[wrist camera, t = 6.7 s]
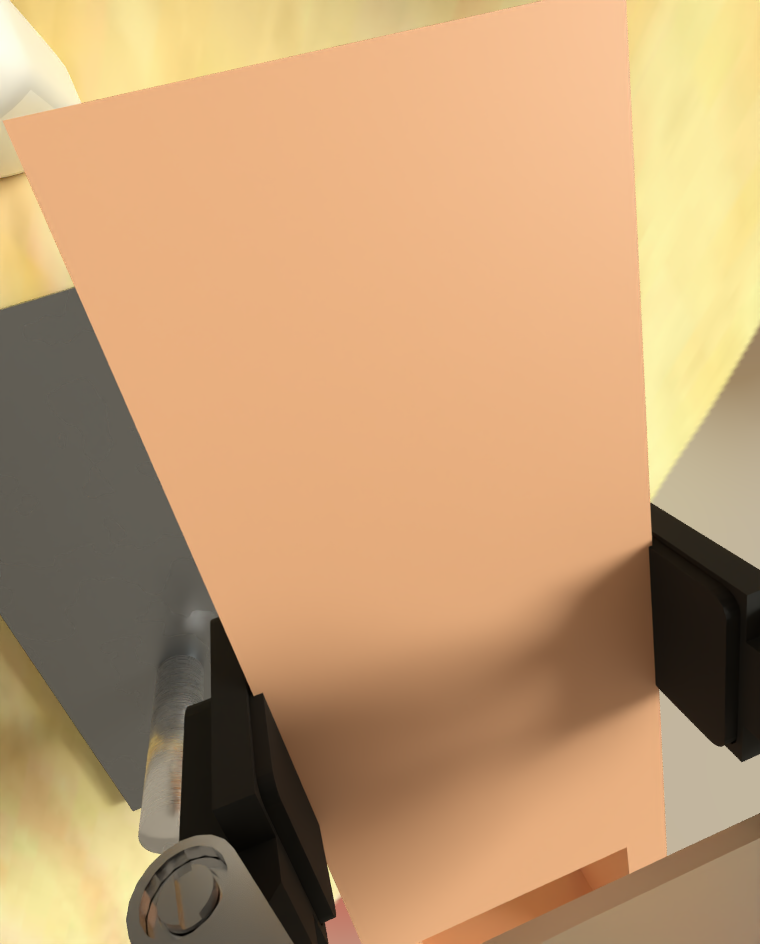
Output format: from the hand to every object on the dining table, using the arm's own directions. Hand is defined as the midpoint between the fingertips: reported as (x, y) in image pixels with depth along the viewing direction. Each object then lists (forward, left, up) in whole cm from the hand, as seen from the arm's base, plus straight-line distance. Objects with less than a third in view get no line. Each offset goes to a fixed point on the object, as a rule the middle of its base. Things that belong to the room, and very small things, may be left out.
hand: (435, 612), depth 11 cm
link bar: (+1, 0, -1) cm, 2 cm away
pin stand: (+5, -9, -15) cm, 19 cm away
